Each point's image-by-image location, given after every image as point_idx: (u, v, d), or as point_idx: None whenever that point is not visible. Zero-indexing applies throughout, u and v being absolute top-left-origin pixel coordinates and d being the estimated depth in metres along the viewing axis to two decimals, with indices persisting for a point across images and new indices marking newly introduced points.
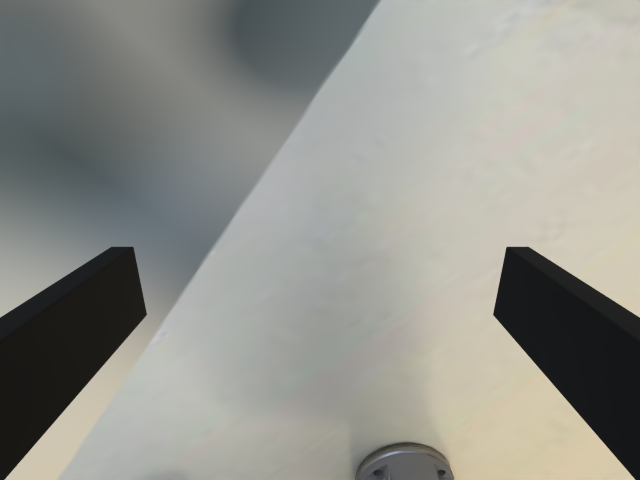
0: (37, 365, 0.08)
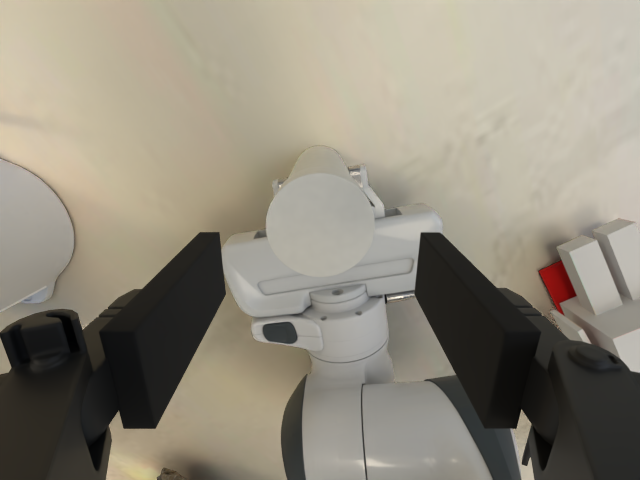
0: (175, 326, 0.09)
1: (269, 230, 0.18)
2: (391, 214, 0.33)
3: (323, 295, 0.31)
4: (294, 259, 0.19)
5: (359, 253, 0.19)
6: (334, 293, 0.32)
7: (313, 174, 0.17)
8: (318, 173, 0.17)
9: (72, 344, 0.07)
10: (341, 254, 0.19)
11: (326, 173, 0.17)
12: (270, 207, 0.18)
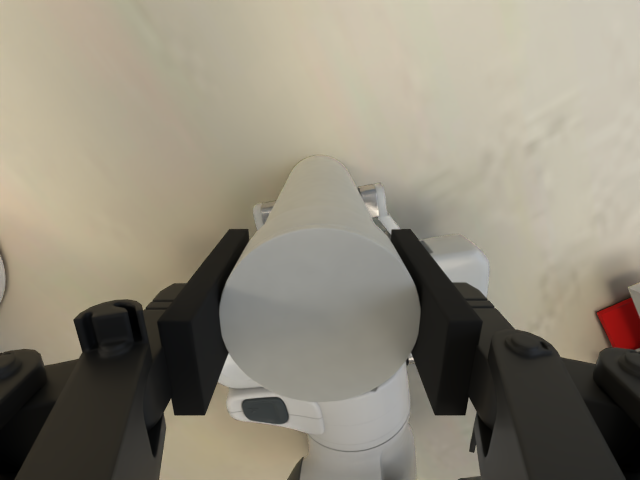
0: (217, 318, 0.10)
1: (226, 327, 0.10)
2: None
3: None
4: (273, 375, 0.10)
5: (390, 365, 0.10)
6: None
7: (306, 230, 0.09)
8: (316, 228, 0.09)
9: (135, 334, 0.07)
10: (358, 367, 0.10)
11: (331, 228, 0.09)
12: (226, 289, 0.09)
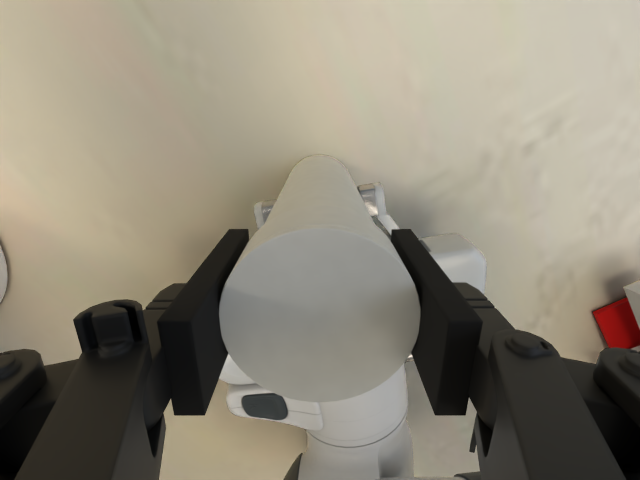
0: (217, 318, 0.10)
1: (347, 394, 0.11)
2: None
3: None
4: (391, 349, 0.10)
5: (351, 244, 0.09)
6: None
7: (231, 355, 0.10)
8: (227, 348, 0.10)
9: (135, 334, 0.07)
10: (361, 276, 0.09)
11: (223, 336, 0.10)
12: (307, 400, 0.11)
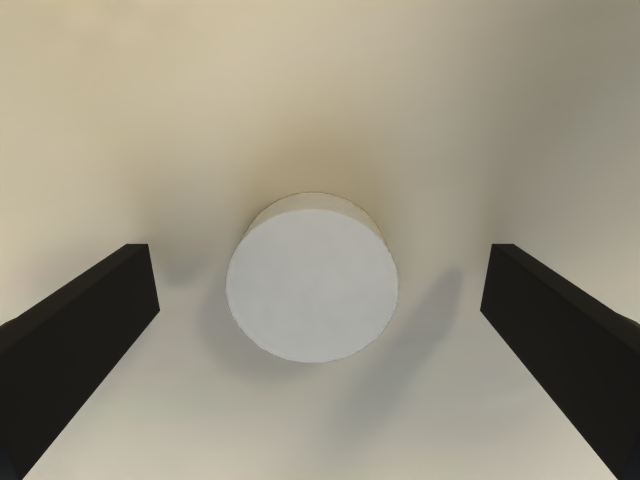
0: (62, 356, 0.08)
1: (336, 355, 0.12)
2: None
3: None
4: (374, 315, 0.12)
5: (337, 222, 0.11)
6: None
7: (236, 320, 0.12)
8: (232, 314, 0.12)
9: None
10: (347, 250, 0.11)
11: (229, 303, 0.12)
12: (301, 361, 0.12)
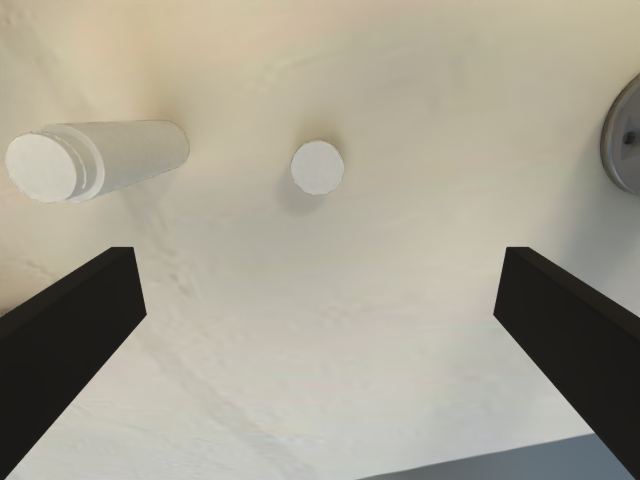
0: (37, 365, 0.08)
1: (325, 192, 0.38)
2: None
3: None
4: (336, 176, 0.38)
5: (325, 145, 0.37)
6: None
7: (293, 178, 0.38)
8: (292, 176, 0.38)
9: None
10: (328, 154, 0.37)
11: None
12: (314, 194, 0.38)
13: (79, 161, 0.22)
